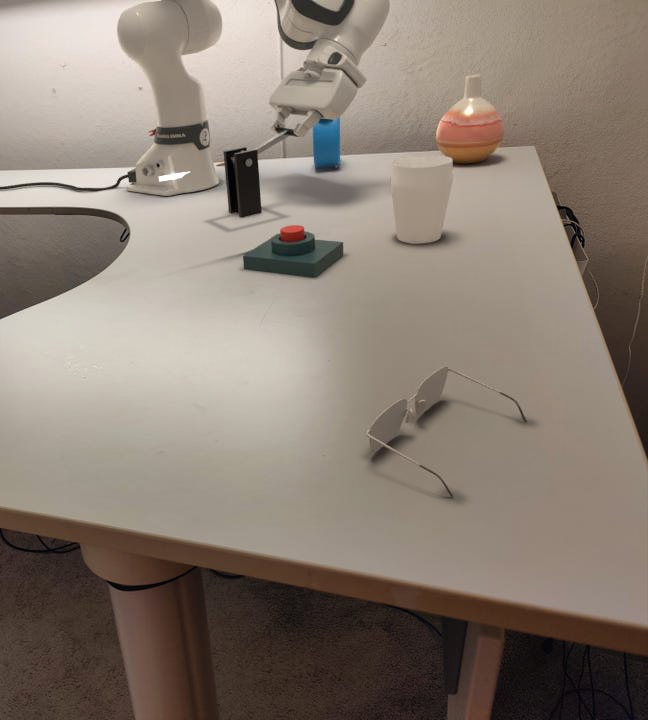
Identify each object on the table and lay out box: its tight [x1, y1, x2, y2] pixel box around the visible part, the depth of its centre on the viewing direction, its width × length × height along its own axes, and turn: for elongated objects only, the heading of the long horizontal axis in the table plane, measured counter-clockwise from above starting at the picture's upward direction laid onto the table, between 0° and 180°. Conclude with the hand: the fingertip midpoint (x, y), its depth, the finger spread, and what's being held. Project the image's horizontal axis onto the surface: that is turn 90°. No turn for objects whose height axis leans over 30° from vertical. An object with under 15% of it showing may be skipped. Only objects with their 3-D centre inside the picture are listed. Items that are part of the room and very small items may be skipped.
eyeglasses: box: [365, 365, 528, 498], centre depth 57 cm, size 14×8×4 cm, turn 133°
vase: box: [435, 74, 505, 165], centre depth 144 cm, size 14×14×18 cm
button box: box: [242, 230, 344, 278], centre depth 102 cm, size 12×10×4 cm
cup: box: [390, 154, 454, 245], centre depth 103 cm, size 9×9×12 cm
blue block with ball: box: [312, 116, 341, 170], centre depth 155 cm, size 13×6×15 cm, turn 168°
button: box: [279, 224, 305, 242], centre depth 101 cm, size 4×4×2 cm
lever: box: [230, 127, 299, 169], centre depth 123 cm, size 13×6×2 cm, turn 115°
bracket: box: [223, 146, 262, 219], centre depth 124 cm, size 12×9×13 cm
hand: (286, 133), depth 124 cm, fingers closed on lever, 6 cm apart
